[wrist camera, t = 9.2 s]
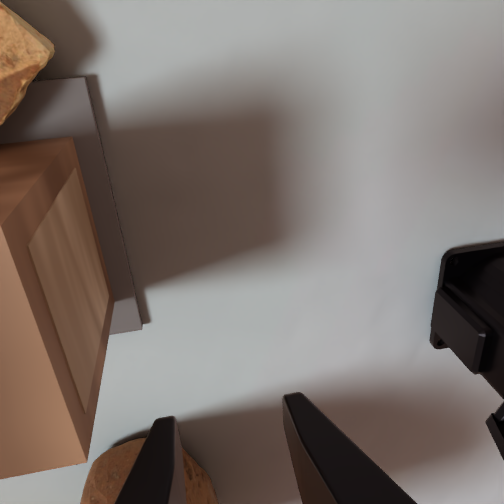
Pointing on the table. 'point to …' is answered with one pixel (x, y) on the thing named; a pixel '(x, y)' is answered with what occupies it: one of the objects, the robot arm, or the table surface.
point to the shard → (19, 59)
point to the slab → (48, 308)
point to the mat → (93, 172)
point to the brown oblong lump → (119, 465)
